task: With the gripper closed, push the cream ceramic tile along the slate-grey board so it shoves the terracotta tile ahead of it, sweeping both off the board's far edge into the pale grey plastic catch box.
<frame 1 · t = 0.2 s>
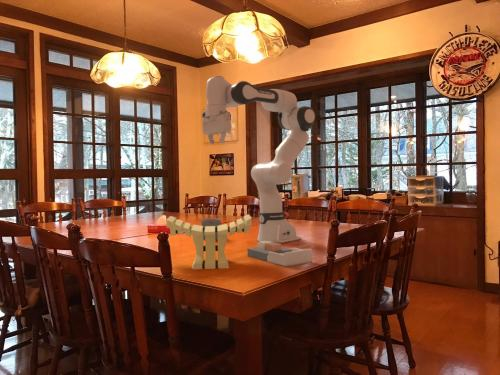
hand: (216, 143, 184), 47 cm above the table, fingers open, 8 cm apart
board: (270, 256, 164), on the table
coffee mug: (212, 238, 213), on the table
catch box: (289, 261, 154), on the table
slatted curved stool: (210, 264, 153), on the table
tile cream: (265, 248, 167), point 3 cm above the table, touching board
tile terracotta: (273, 250, 162), point 3 cm above the table, touching board
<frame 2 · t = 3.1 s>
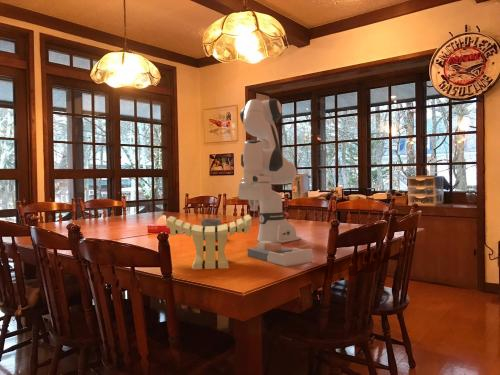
hand: (254, 210, 172), 18 cm above the table, fingers closed
nothing on the table moved.
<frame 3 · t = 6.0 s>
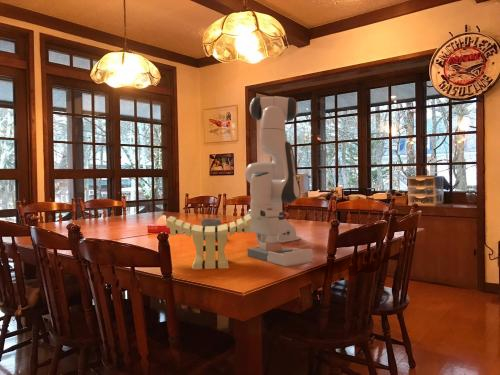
hand: (261, 244, 169), 4 cm above the table, fingers closed
tile cream: (267, 248, 166), point 3 cm above the table, touching gripper, tile terracotta
tile terracotta: (273, 250, 162), point 3 cm above the table, touching tile cream
everything else where it was.
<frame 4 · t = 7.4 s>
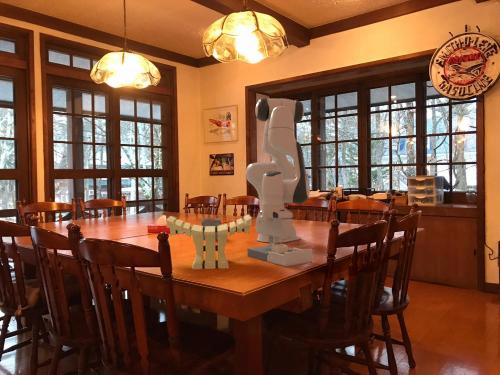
hand: (273, 247, 162), 4 cm above the table, fingers closed
tile cream: (279, 251, 159), point 3 cm above the table, touching board
tile terracotta: (290, 252, 154), point 4 cm above the table, tilted 160°, touching catch box
everything else where it was.
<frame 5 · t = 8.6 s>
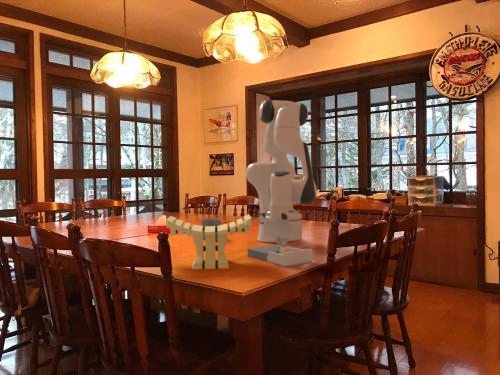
hand: (281, 249, 157), 4 cm above the table, fingers closed
tile cream: (284, 252, 156), point 3 cm above the table, tilted 100°, touching catch box, gripper
tile terracotta: (292, 254, 153), point 3 cm above the table, tilted 180°
everything else where it was.
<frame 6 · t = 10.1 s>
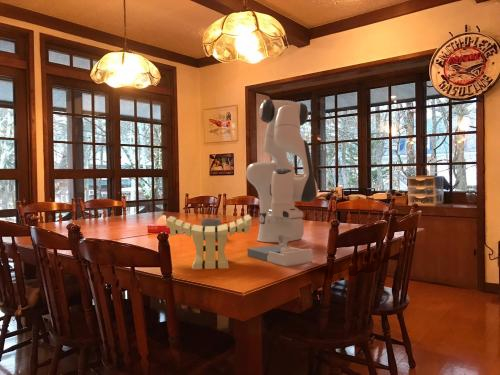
hand: (282, 247, 157), 5 cm above the table, fingers closed
tile cream: (284, 251, 156), point 3 cm above the table, tilted 107°, touching catch box, gripper
tile terracotta: (293, 254, 152), point 3 cm above the table, tilted 180°, touching catch box
everything else where it was.
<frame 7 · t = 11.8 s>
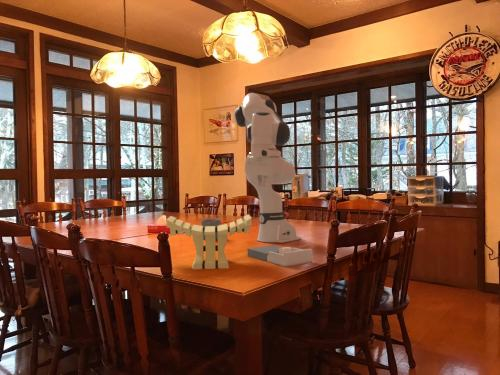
hand: (261, 186, 166), 28 cm above the table, fingers closed
tile cream: (283, 253, 157), point 3 cm above the table, tilted 90°, touching catch box
everything else where it was.
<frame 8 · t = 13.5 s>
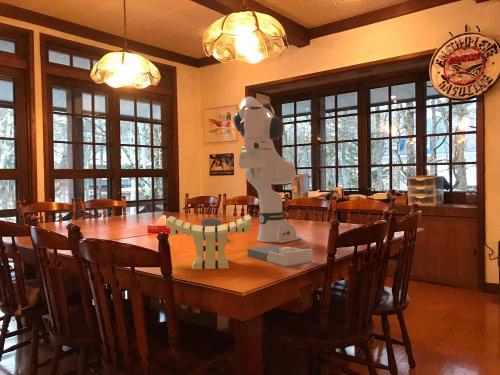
hand: (255, 179, 168), 31 cm above the table, fingers closed
nothing on the table moved.
at the end: tile cream inside the target area on the catch box (3.9 cm from its centre), point 2.7 cm above the catch box's base; tile terracotta inside the target area on the catch box (2.0 cm from its centre), point 3.0 cm above the catch box's base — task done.
